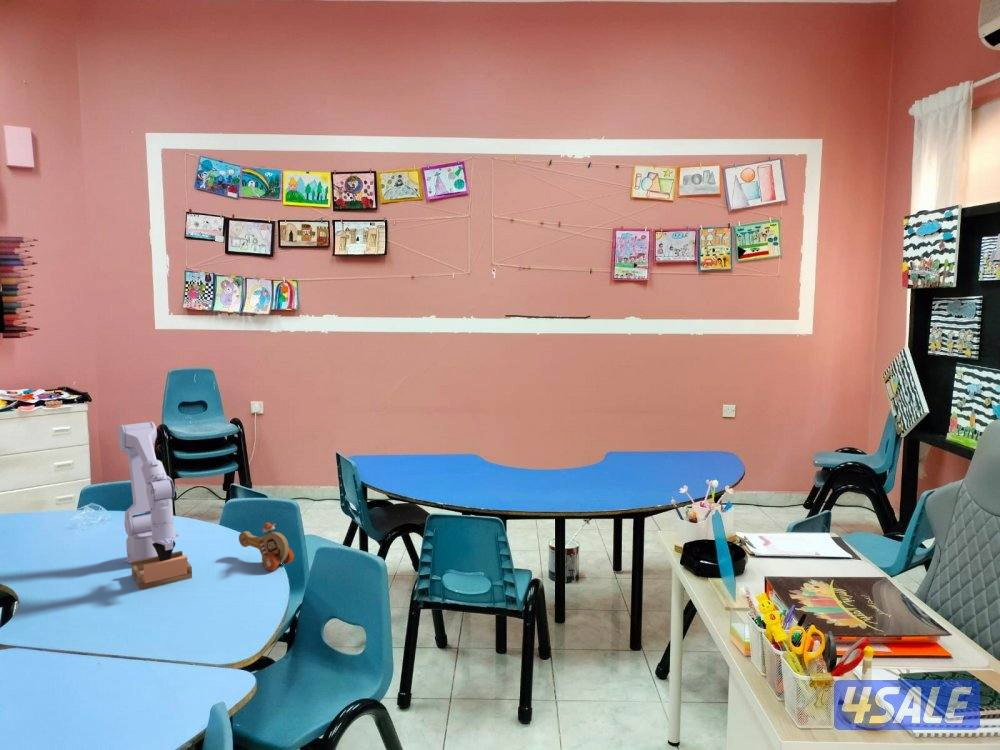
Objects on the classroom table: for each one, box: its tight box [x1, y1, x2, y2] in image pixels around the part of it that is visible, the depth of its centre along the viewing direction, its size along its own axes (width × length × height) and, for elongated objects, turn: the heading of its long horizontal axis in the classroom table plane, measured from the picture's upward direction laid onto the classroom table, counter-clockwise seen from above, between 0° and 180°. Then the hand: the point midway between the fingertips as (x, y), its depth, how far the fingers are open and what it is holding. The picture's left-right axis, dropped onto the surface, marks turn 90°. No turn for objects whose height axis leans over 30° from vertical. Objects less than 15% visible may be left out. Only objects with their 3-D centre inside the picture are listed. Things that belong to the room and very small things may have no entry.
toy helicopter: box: [238, 522, 295, 572], centre depth 216 cm, size 8×21×14 cm, turn 60°
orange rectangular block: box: [143, 555, 188, 583], centre depth 200 cm, size 1×11×6 cm, turn 128°
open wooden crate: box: [130, 550, 193, 591], centre depth 205 cm, size 12×14×4 cm
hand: (165, 566), depth 201 cm, fingers closed, pressing on orange rectangular block
